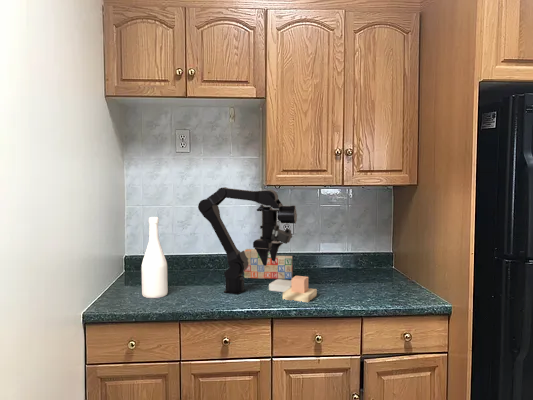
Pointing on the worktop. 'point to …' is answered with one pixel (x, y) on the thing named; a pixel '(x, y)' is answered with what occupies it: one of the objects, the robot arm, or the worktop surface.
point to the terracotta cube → (299, 284)
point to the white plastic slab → (280, 285)
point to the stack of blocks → (268, 266)
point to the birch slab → (300, 295)
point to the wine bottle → (154, 265)
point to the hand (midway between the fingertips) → (269, 263)
